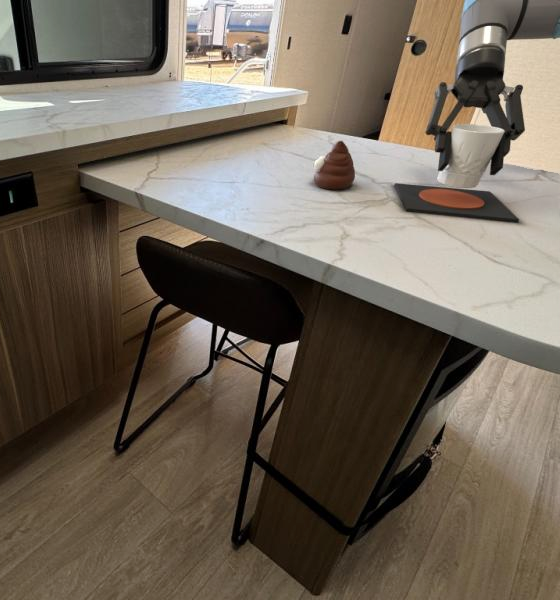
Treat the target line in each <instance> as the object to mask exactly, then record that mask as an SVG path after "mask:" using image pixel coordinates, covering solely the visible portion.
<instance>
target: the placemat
mask: <svg viewBox="0 0 560 600" xmlns="http://www.w3.org/2000/svg"><path fill="white" fill-rule="evenodd" d="M393 186H394V188H395V190H396V193H397V195H398V197H399V199H400V201H401V203H402V205H403V208H404V211H405V212H412V213H420V214H421V213H422V214H432V215H439V216H440V215H441V216H449V217H461V218H470V219H478V220H481V219H482V220H490V221H498V222H499V221H500V222H501V221H502V222H507V223H508V222H509V223H519V222H520V219H519V218H518V217H517V216H516V215H515V213H514V212H512V211H511V210H510V208H508V207H507V206H506V205H505V204H504V203H503V202H501V200H500V199H499V198H498V197H497V196H495V195H494V194H493V193H492V191H489V190H478V189H469V188H458V187H444V186H433V185H432V186H431V185H423V184H422V185H421V184H411V183H398V182H395V183H394V184H393Z"/></svg>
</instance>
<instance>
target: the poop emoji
mask: <svg viewBox="0 0 560 600" xmlns="http://www.w3.org/2000/svg"><path fill="white" fill-rule="evenodd" d="M313 169H314V172H315V173H314V174H313V182H314V184H315V186H317V187H319V188H321V189H325V190H330V191H342V190H345V189H347V188H349V187H350V186H351V185H352V184H353V182H354V181H355V179H356V170H355V166H354V160H353V158H352V154H351V153H350V152H349V148H348V146H347V145H346V144H345V143H344V141H343V140H337V141H336V142H335V143H334V144H333V146H332V148H331V150H330V151H329V152H328V153H327V154H326V155H321V156H319V158H318V159H316V160H314V162H313Z"/></svg>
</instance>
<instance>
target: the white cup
mask: <svg viewBox="0 0 560 600" xmlns="http://www.w3.org/2000/svg"><path fill="white" fill-rule="evenodd" d="M450 132H452V139H451V148H450V157H449V164H448V165H447V166H446V167H445V169H444V170H443V171H438V175H437V178H436V181H437V182H438V183H440V184H442V185H445V186H448V187H451V188H457V189H474V188H477V186H479V183H480V182H481V179H482V177H483V176H484V173H486V171H487V168H488V166H489V164H491V159H492V157H493V155H494V153H495V151H496V149H497V147H498V145H499V143H500V140H501V138H502V136H503V134H504V132H505V130H503V129H501V128H497V127H492V126H491V125H485V124H474V123H458V124H457V123H456V124H454V125H452V127H451V131H450Z"/></svg>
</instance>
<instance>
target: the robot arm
mask: <svg viewBox="0 0 560 600" xmlns="http://www.w3.org/2000/svg"><path fill="white" fill-rule="evenodd" d="M459 29H460V30H459V41H458V48H457V56H456V66H455V71H454V73H455V74H454V81H453V83H452V84H448V83H446V82H445V81H441V82H440V83H439V85H438V86H437V88H436V90H435V92H434V101H435V102H434V104H433V107H432V110H431V113H430V116H429V119H428V122H427V125H426V129H425V133H424V134H425V135H426V136H434V137H433V141H435V143H434V152H435V153H439V158H438V166H437V171H438V172H439V171H443V170H444V169H445V167H446V166H447V165H448V164H449V157H450V148H451V139H452V132H451V131H448V130H449V129H450V127H451V126H452V124H453V122H455V119H456V118H457V116H458V115H459V113H461V111H462V109H463V108H478V109H481V112H482V113H483V114H485V115H486V117H487V120H488V122H489V125H490V126H492V127H497V128H501V129H503V130H505V132H504V134H503V136H502V138H501V140H500V143H499V145H498V147H497V149H496V151H495V153H494V155H493V157H492V159H491V161H490V167H489V169H490V170H489V176H496V175H497V174H498V173H499V172H500V171H501V170H502V169H503V168H504V159H505V157H506V156H507V155H508V154H509V153H510V151H511V142H512V141H513V142H514V141H516V140H517V139H518V138H519V137H521V136H522V135H523V133H524V132H525V131H526V126H525V119H524V112H523V105H522V96H521V95H522V92H523V90H524V85H522V84H516V86H515V87H513V86H508V85H506V83H505V81H504V75H505V64H506V54H507V44H508V41H511V40H545V39H546V40H547V39H552V40H556V39H560V0H465V1H464V3H463V7H462V13H461V17H460V28H459ZM450 93H451V94H452V96H453V97H454V98H455V99H456V101H457V103H455V105H454V107H453V108H452V110H451V111H450V113H449V115H448V116H447V117H446V119H445V120H444V122H443V123H442V125H440V124H439V122H440V119H441V116H442V113H443V109H444V107H445V103H446V101H447V97H448V96H449V95H450ZM500 95H502V96H503V101H504V102H505V106H504V107H505V110H504V108H503V107H502V104H501V98H500V97H501V96H500Z"/></svg>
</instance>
